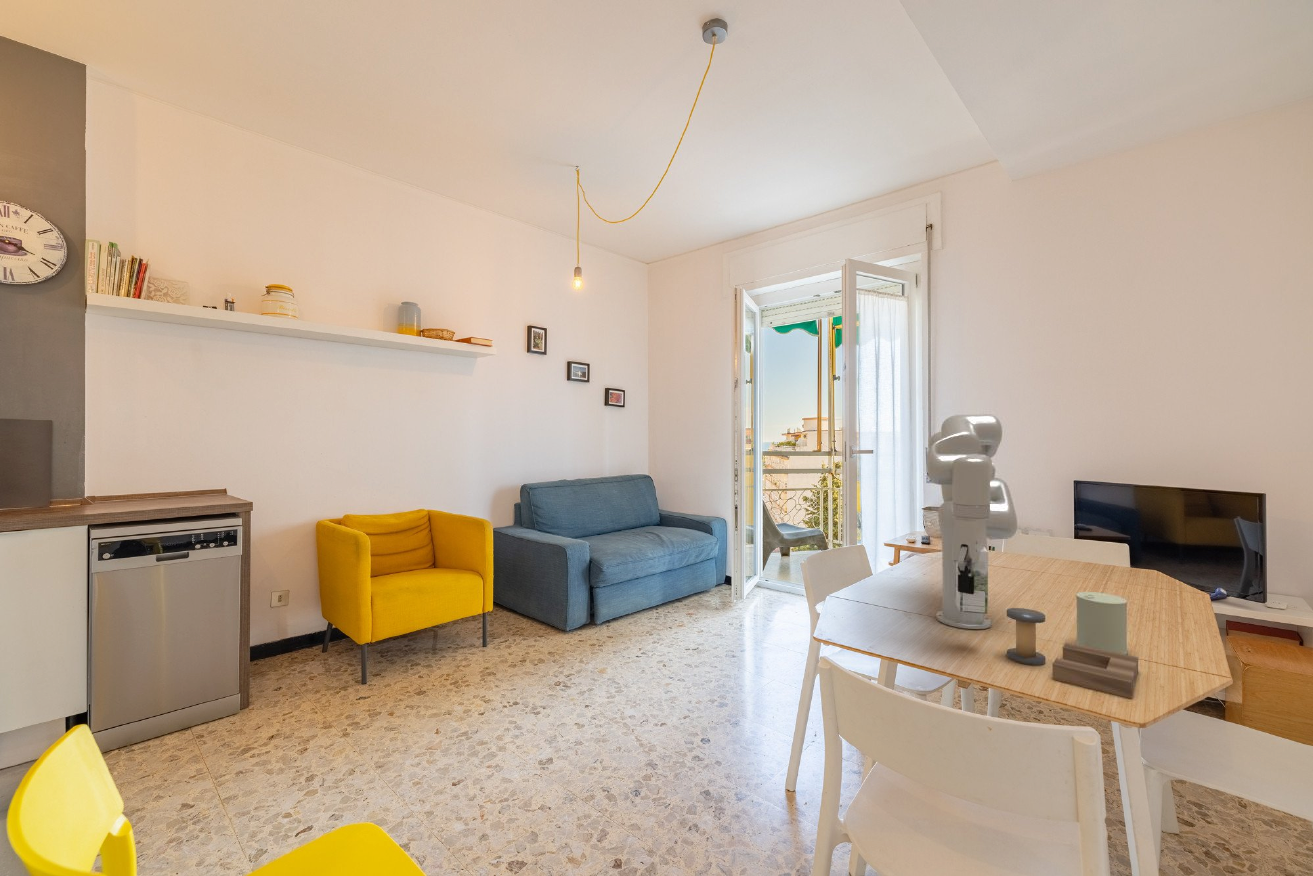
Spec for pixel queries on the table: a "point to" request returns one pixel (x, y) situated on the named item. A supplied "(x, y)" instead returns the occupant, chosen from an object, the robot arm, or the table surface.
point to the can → (1102, 621)
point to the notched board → (1097, 669)
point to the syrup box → (975, 587)
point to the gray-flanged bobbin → (1026, 636)
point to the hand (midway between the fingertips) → (971, 588)
